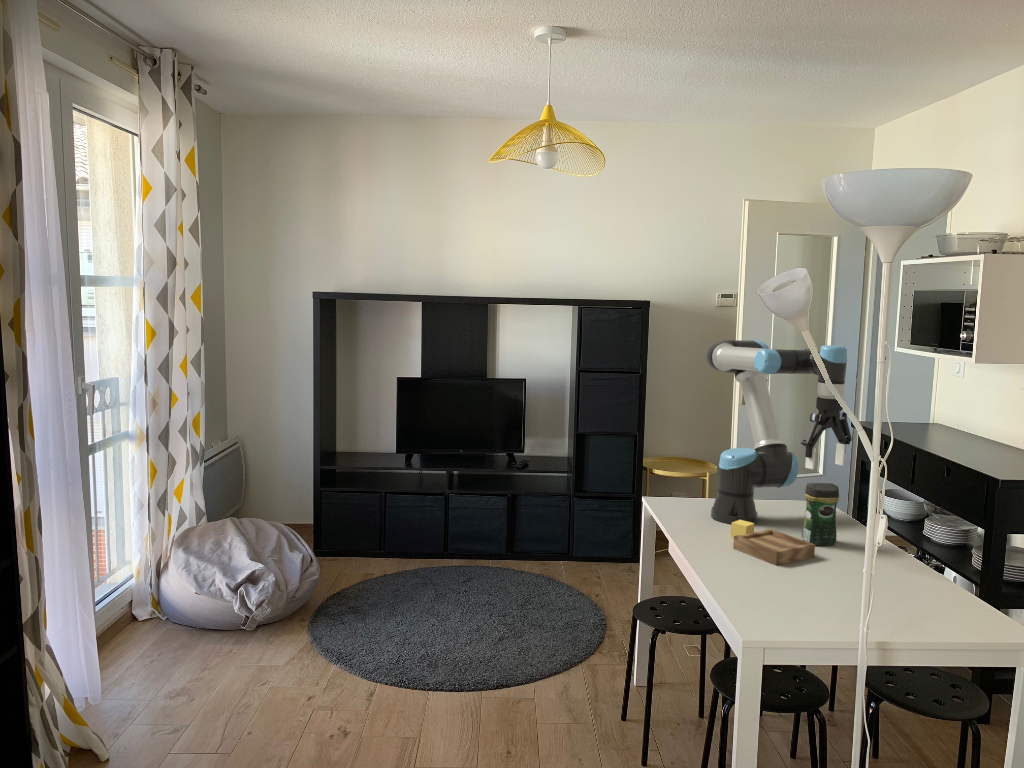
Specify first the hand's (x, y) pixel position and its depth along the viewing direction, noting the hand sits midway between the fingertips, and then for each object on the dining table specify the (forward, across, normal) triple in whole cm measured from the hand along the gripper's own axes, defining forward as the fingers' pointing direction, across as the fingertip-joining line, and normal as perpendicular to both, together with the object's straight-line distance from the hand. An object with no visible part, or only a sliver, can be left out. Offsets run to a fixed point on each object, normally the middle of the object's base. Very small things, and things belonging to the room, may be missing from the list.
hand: (824, 466), depth 240 cm
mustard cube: (+24, +19, -13) cm, 33 cm away
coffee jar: (+24, 0, 0) cm, 24 cm away
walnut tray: (+24, +21, +1) cm, 32 cm away
